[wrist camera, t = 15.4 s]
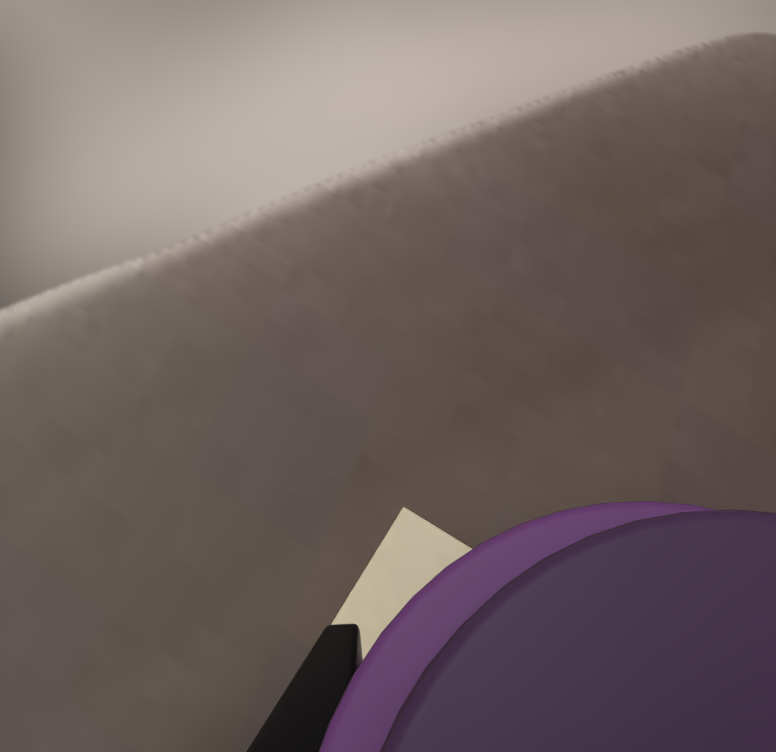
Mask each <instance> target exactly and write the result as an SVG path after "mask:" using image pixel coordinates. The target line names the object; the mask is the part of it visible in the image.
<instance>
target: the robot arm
mask: <svg viewBox="0 0 776 752" xmlns="http://www.w3.org/2000/svg"><path fill="white" fill-rule="evenodd" d="M362 661H363V657H362V647H361V636H360V629H359V627H358V625H356V624H335V625H329V626H327V627H326V628H325V629H324V631H323V632H322V634H321V636H320V637H319V639H318V640H317V642H316V643H315V645H314V646H313V648H312V650H311V651H310V653H309V654H308V656H307V657H306V659H305V661H304V662H303V664H302V665H301V667H300V668H299V670H298V672H297V673H296V675H295V676H294V678H293V679H292V681H291V683H290V684H289V686H288V687H287V689H286V690H285V692H284V694H283V695H282V697H281V698H280V700H279V701H278V703H277V705H276V706H275V708H274V709H273V711H272V712H271V714H270V716H269V717H268V719H267V720H266V722H265V723H264V725H263V727H262V728H261V730H260V731H259V733H258V734H257V736H256V738H255V739H254V741H253V742H252V744H251V745H250V747H249V749H248V750H247V752H319V750H320V747H321V744H322V742H323V739H324V736H325V733H326V731H327V728H328V725H329V723H330V721H331V719H332V717H333V715H334V713H335V711H336V709H337V707H338V705H339V702H340V700H341V698H342V696H343V694H344V692H345V690H346V688H347V686H348V684H349V682H350V680H351V678H352V676H353V675H354V673H355V672H356V670H357V669H358V667H359V666H360V664H361V662H362Z"/></svg>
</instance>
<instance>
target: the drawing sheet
mask: <svg viewBox="0 0 776 752" xmlns="http://www.w3.org/2000/svg"><path fill="white" fill-rule="evenodd" d="M470 550H472V548H470V547H468V546H467V545H465V544H463V543H462V542H460V541H459V540H457V539H455V538H454V537H452V536H450V535H449V534H447V533H446V532H444V531H442V530H441V529H439V528H438V527H436V526H434V525H433V524H431V523H429V522H428V521H426V520H425V519H423V518H421V517H420V516H418V515H417V514H415V513H413V512H412V511H410V510H408V509H407V508H405V507H403V508H402V510H401V512H400V513H399V515H398V517H397V518H396V520H395V521H394V523H393V525H392V526H391V528H390V530H389V531H388V533H387V534H386V536H385V538H384V539H383V541H382V543H381V544H380V546H379V547H378V549H377V551H376V552H375V554H374V556H373V557H372V559H371V560H370V562H369V564H368V565H367V567H366V569H365V570H364V572H363V573H362V575H361V577H360V578H359V580H358V582H357V583H356V585H355V586H354V588H353V590H352V591H351V593H350V595H349V596H348V598H347V599H346V601H345V603H344V604H343V606H342V608H341V609H340V611H339V612H338V614H337V616H336V617H335V619H334V620H333V622H332V624H331V625H335V624H356V625H358V627H359V629H360V636H361V647H362V657H363V659H364V658H365V656H366V655H367V653H368V652H369V650H370V649H371V647H372V646H373V644H374V643H375V641H376V640H377V638H378V637H379V635H380V634H381V632H382V631H383V630H384V629H385V628H386V627H387V625H388V624H389V623H390V622H391V621H392V620H393V619H394V617H395V616H396V615H397V614H398V613H399V612H400V610H401V609H402V608H403V607H404V606H405V605H406V603H407V602H408V601H409V600H410V599H411V598H412V597H413V596H414V595H415V594H416V593H417V592H418V591H419V590H420V589H422V588H423V587H424V586H425V585H426V584H427V583H428V582H430V581H431V580H432V579H433V578H434V577H435V576H436V575H437V574H439V573H440V572H441V571H442V570H443V569H444V568H445V567H446V566H448V565H449V564H451V563H452V562H454V561H455V560H457V559H458V558H460V557H461V556H463V555H464V554H466V553H467V552H469V551H470Z"/></svg>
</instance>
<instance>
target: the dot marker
mask: <svg viewBox="0 0 776 752" xmlns="http://www.w3.org/2000/svg"><path fill="white" fill-rule="evenodd" d="M319 752H776V513H769V512H757V511H745V510H714V509H709V508H704V507H700V506H695V505H687V504H675V503H663V502H651V501H640V502H616V503H601V504H596V505H590V506H584V507H579V508H573V509H567V510H562V511H559V512H556V513H553V514H549V515H546V516H543V517H540V518H537V519H534V520H531V521H528V522H525V523H522V524H519V525H517V526H515V527H513V528H511V529H509V530H507V531H505V532H503V533H501V534H499V535H497V536H495V537H493V538H490V539H488V540H486V541H484V542H482V543H481V544H479V545H478V546H476V547H475V548H473V549H472V550H470V551H469V552H467V553H466V554H464V555H463V556H461V557H460V558H458V559H457V560H455V561H454V562H452V563H451V564H449V565H448V566H446V567H445V568H444V569H443V570H442V571H441V572H440V573H439V574H437V575H436V576H435V577H434V578H433V579H432V580H431V581H430V582H428V583H427V584H426V585H425V586H424V587H423V588H422V589H420V590H419V591H418V592H417V593H416V594H415V595H414V596H413V597H412V598H411V599H410V600H409V601H408V602H407V603H406V605H405V606H404V607H403V608H402V609H401V610H400V612H399V613H398V614H397V615H396V616H395V617H394V619H393V620H392V621H391V622H390V623H389V624H388V625H387V627H386V628H385V629H384V630H383V631H382V632H381V634H380V635H379V637H378V638H377V640H376V641H375V643H374V644H373V646H372V647H371V649H370V650H369V652H368V653H367V655H366V656H365V658H364V659H363V661H362V662H361V664H360V666H359V667H358V669H357V670H356V672H355V673H354V675H353V676H352V678H351V680H350V682H349V684H348V686H347V688H346V690H345V692H344V694H343V696H342V698H341V700H340V702H339V705H338V707H337V709H336V711H335V713H334V715H333V717H332V719H331V721H330V723H329V725H328V728H327V731H326V733H325V736H324V739H323V742H322V744H321V747H320V750H319Z"/></svg>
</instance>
